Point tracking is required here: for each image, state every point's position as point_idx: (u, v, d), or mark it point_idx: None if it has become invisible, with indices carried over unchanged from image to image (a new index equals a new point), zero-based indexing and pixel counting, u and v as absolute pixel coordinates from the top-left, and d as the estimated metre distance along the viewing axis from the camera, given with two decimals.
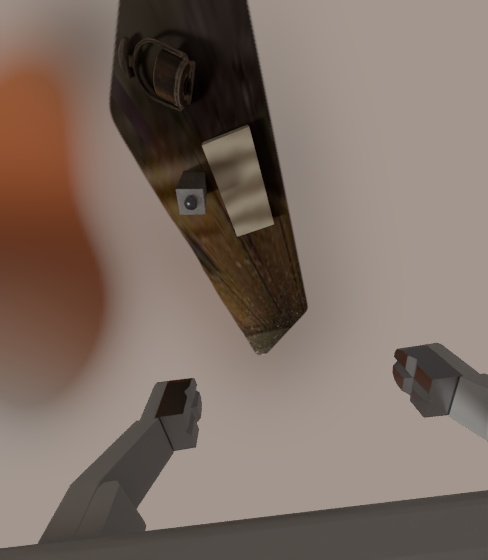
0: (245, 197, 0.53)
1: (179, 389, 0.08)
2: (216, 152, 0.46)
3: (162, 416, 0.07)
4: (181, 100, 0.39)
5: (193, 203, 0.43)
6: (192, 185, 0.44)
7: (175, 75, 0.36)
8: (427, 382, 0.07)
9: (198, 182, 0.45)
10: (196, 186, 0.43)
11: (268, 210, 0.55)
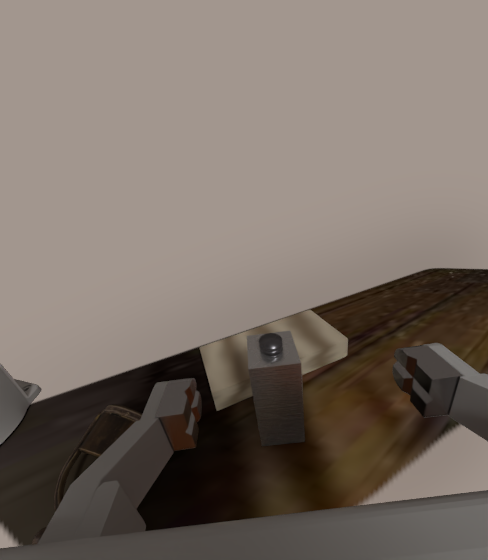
0: None
1: (179, 389, 0.08)
2: (222, 375, 0.32)
3: (162, 416, 0.07)
4: (140, 413, 0.26)
5: (268, 337, 0.24)
6: None
7: (107, 412, 0.25)
8: (427, 382, 0.07)
9: None
10: None
11: (292, 317, 0.42)
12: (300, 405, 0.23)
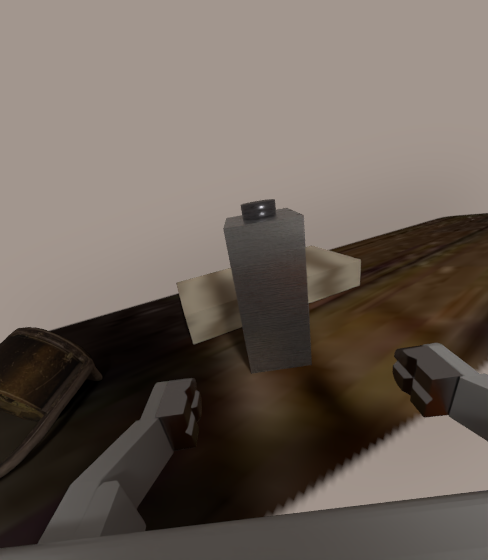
0: None
1: (179, 389, 0.08)
2: (201, 300, 0.25)
3: (162, 416, 0.07)
4: (63, 337, 0.18)
5: (255, 202, 0.16)
6: None
7: (10, 335, 0.17)
8: (427, 382, 0.07)
9: None
10: None
11: None
12: (304, 298, 0.16)
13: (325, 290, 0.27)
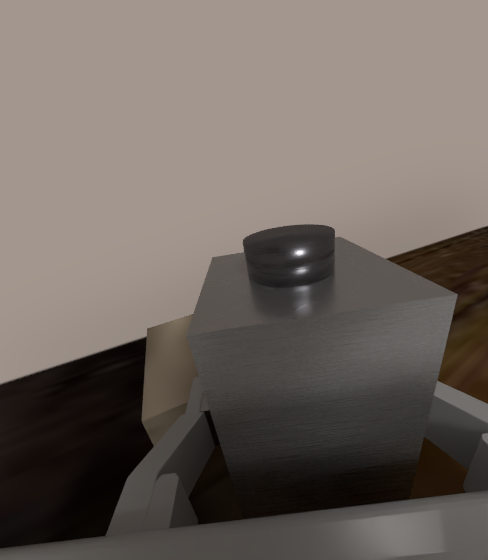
0: None
1: None
2: (176, 377, 0.15)
3: (207, 410, 0.07)
4: None
5: (278, 231, 0.07)
6: None
7: None
8: None
9: None
10: None
11: None
12: (404, 479, 0.06)
13: None
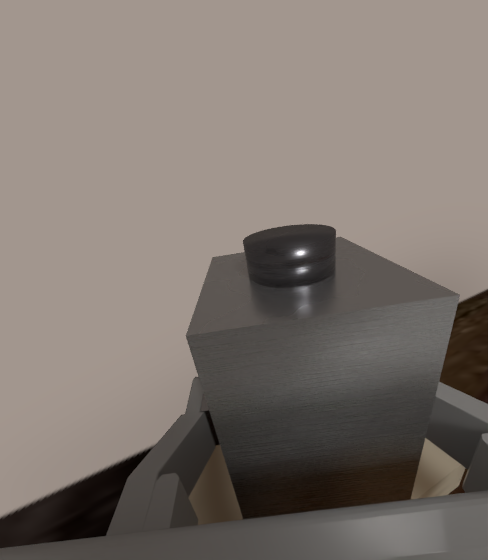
0: None
1: None
2: None
3: (208, 410, 0.07)
4: None
5: (279, 231, 0.07)
6: None
7: None
8: None
9: None
10: None
11: None
12: (405, 480, 0.06)
13: None
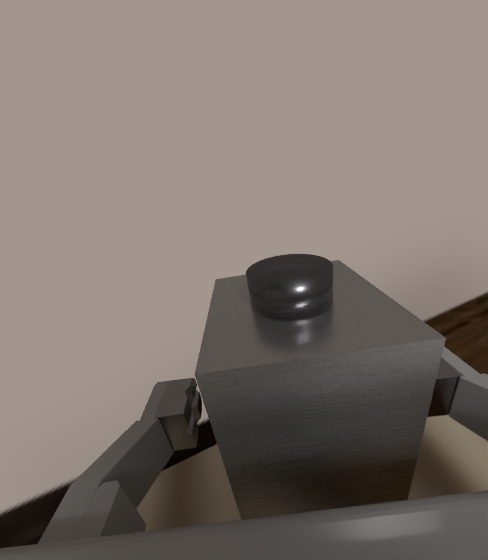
0: None
1: (179, 389, 0.08)
2: None
3: (162, 416, 0.07)
4: None
5: (279, 262, 0.07)
6: None
7: None
8: None
9: None
10: None
11: None
12: (398, 498, 0.07)
13: None
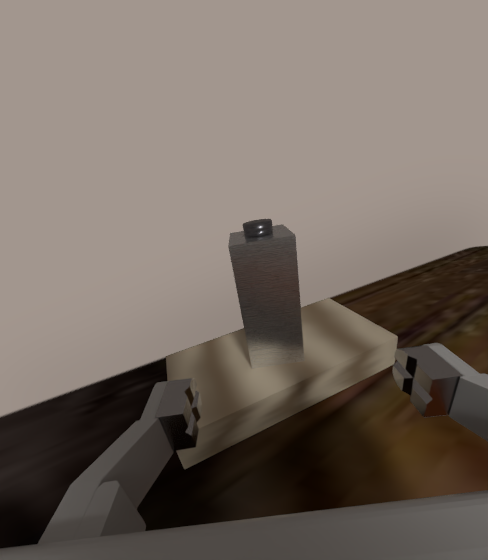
0: None
1: (179, 389, 0.08)
2: None
3: (162, 416, 0.07)
4: None
5: (255, 221, 0.19)
6: None
7: None
8: (427, 382, 0.07)
9: None
10: None
11: (305, 308, 0.29)
12: (297, 304, 0.19)
13: (353, 377, 0.22)
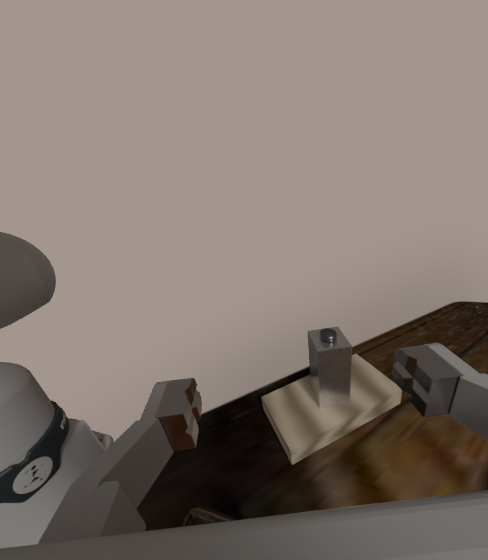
0: None
1: (179, 389, 0.08)
2: (294, 429, 0.35)
3: (162, 416, 0.07)
4: (234, 519, 0.25)
5: (326, 331, 0.35)
6: (312, 349, 0.36)
7: (203, 521, 0.24)
8: (427, 382, 0.07)
9: (310, 353, 0.38)
10: (310, 343, 0.37)
11: None
12: (349, 376, 0.35)
13: (377, 412, 0.38)
